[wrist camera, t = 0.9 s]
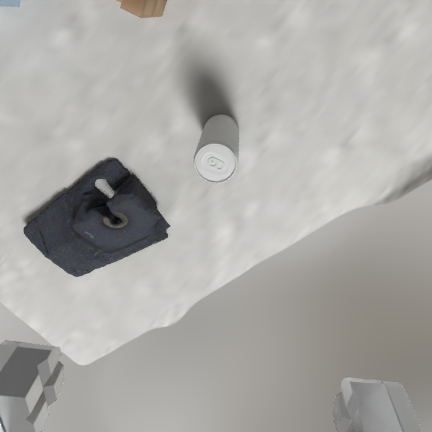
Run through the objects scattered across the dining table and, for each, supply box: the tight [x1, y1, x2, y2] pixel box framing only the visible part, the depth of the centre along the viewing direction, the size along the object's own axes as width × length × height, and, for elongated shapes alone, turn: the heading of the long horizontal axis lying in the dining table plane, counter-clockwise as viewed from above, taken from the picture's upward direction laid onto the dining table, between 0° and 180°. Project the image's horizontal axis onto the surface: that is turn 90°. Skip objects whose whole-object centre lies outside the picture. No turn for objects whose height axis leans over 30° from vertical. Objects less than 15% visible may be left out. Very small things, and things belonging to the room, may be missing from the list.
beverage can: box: [194, 114, 239, 184], centre depth 43 cm, size 5×5×12 cm
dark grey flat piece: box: [24, 160, 170, 277], centre depth 56 cm, size 15×22×5 cm
